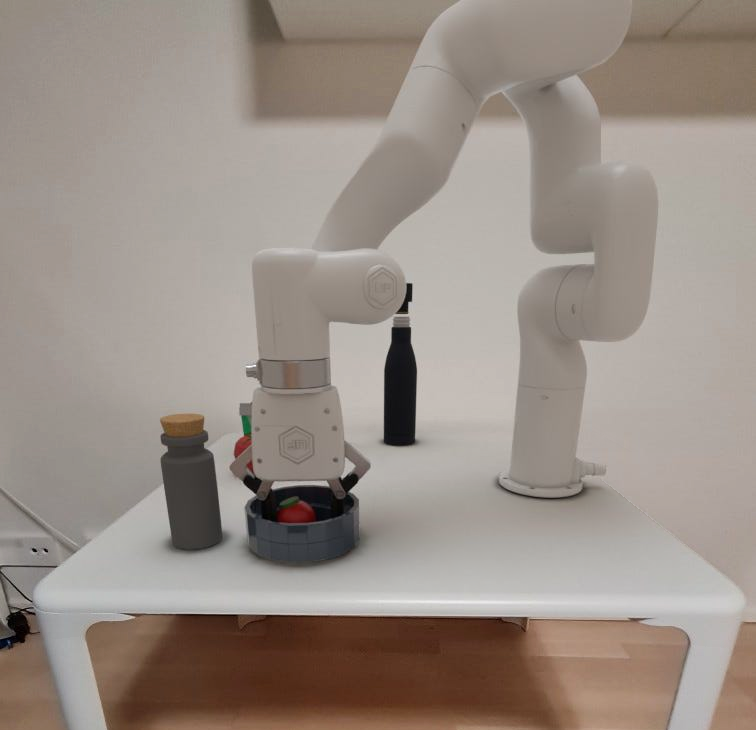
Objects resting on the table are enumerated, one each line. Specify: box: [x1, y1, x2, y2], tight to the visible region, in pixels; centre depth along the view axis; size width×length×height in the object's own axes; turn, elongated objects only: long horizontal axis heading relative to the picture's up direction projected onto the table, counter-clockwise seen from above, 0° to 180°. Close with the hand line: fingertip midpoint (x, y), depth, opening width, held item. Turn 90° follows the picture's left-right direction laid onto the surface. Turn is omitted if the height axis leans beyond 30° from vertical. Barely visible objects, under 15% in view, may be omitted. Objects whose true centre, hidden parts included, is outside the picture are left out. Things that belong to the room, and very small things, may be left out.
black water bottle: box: [383, 282, 418, 447], centre depth 105 cm, size 6×6×30 cm
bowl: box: [244, 484, 361, 563], centre depth 65 cm, size 13×13×5 cm
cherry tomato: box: [277, 497, 316, 523], centre depth 64 cm, size 5×5×5 cm
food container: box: [238, 401, 252, 436], centre depth 102 cm, size 12×6×10 cm, turn 168°
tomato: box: [233, 434, 254, 473], centre depth 90 cm, size 8×8×8 cm
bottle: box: [159, 413, 223, 551], centre depth 63 cm, size 6×6×15 cm
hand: (304, 526), depth 65 cm, fingers open, 6 cm apart
